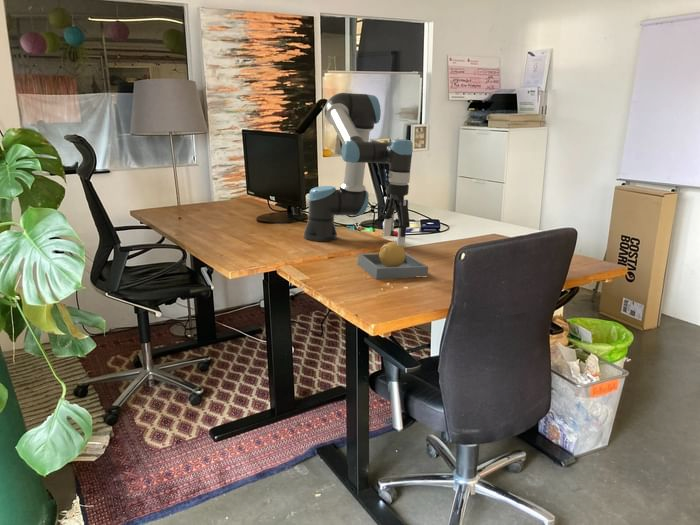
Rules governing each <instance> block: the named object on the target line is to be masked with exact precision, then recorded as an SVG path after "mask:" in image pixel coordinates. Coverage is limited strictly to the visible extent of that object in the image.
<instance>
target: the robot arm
mask: <svg viewBox="0 0 700 525" xmlns="http://www.w3.org/2000/svg"><path fill="white" fill-rule="evenodd" d="M380 104H381V103H380V100H379V98H378V97H377V96H376V95H373V94H367V93H355V92H354V93H353V92H351V93H347V92H340V93H336V94H334V95H333V96H331V97H330V98H329V99H328V100H327V102H326V103H325V106H324V112H323V114H324V117H325V119H326V121H327V122H328V124H329V125H331V126H332V127H333V129H334V131H335V132H336V135H337V136H338V138H339V139H340V142H341V144H342V145H341V150H340V152H341V158H342V160H343V161H344V162H345V169H344V177H343V178H344V179H343V182H342V183H341V184H340V185H339V189H337V188H336V186H333V185H321V186H316V187H313V188H311V189H310V190H309V195H308V214H307V215H308V216H307V217H308V220H307V223H306V226H305V228H304V231H303V238H304V239H306V240H308V241H314V242H333V241H336V240H337V239H338V233H337V230H336V225H335V221H334V220H335V216H352V217H353V216H362V215H363V214H364V213H366V211H367V209H368V205H369V200H370V199H369V197H370V196H369V191H367V190H366V186H365V185H364V178H365V177H364V176H365V168H366V164H367V163H370V164H389V170H388V174H387V176H388V182H389V183H388V184H387V194H386V200H385V203H384V207H383V210H382V214H381V216H383V219H384V220H383V221H384V222H383V232H382V236H383V237H391V236H390V235H391V223H392V215H393V213H394V214H395V212H396V215H397V219H398V224H399V225H398V227H397V230H398V236H397V239H396V240H397V242H396V243H397V245H401V246H406V245H405V244H406V237H407V236H406V234H407V229H408V228H410V227H411V225H410V216H409V215H410V214H409V200H408V199H405V196H408V195H409V188H410V187H409V186H410V185H409V183H410V179H411V167H412V166H411V165H412V156H413V152H414V151H413V142H412V140H409V139H400V138H395V139H392V141H384V142H379V141H377V142H375V141H369V140H370V132H371V131H373V130H374V128H375V124H376V125H377V124H378V123H379V122H380V120H381V114H382V113H381V105H380Z"/></svg>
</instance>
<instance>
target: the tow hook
mask: <svg viewBox="0 0 700 525" xmlns="http://www.w3.org/2000/svg"><path fill="white" fill-rule="evenodd" d="M394 221H395V212H394V213H393V215H392V223H391V235H390V236H389V237H391V236H392V237H398V231H396V230H394V229H395V228H394V227H395V226H394Z"/></svg>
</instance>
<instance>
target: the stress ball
mask: <svg viewBox="0 0 700 525" xmlns="http://www.w3.org/2000/svg"><path fill="white" fill-rule="evenodd" d="M405 253H406V250H405V248H404V246H403V245H397V242H396V241H389V242H386V243H384V244H383V245H382V246H381V247H380V249H379V258H380V261H381V262H382V264H383V265H384V266H386V267H399V266H400V265H401V264H402V263H403V262H404V260H405V255H406V254H405Z"/></svg>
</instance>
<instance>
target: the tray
mask: <svg viewBox="0 0 700 525" xmlns="http://www.w3.org/2000/svg"><path fill="white" fill-rule="evenodd" d="M405 254H406V255H405V260H404V262H403V263H402V264H401V265H400V266H399V267H386V266H384V265H383V264H382V262H381V261H380V258H379V253H358V255H357V257H358V258H357V265H358V266H360V267H361V268H362V270H364V271H365V272H366V273H368V274H369V275H370V276H371V277H372V278H374V279H375V280H391V279H392V280H394V279H395V280H397V279H398V278H399V279H408V278H407V277H416V276H427V277H428V273H429V266H428V265H426V264H424V263H423V262H422V261H420V260H418V259H417V258H415V257H413V256H412V255H411V254H409V253H407V252H405Z"/></svg>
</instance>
